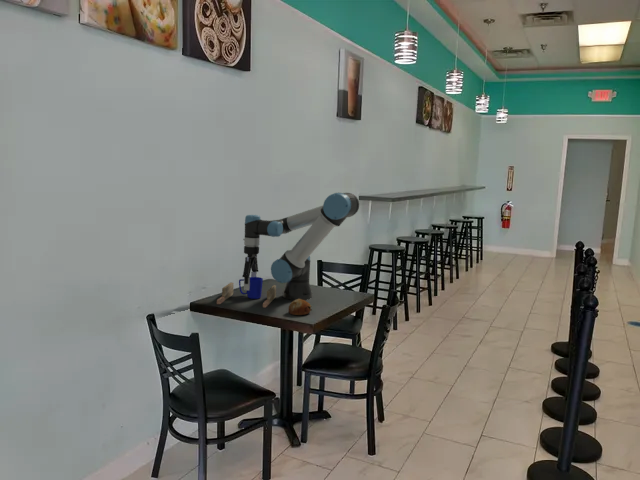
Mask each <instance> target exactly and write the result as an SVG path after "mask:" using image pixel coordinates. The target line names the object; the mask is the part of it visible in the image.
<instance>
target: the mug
mask: <svg viewBox="0 0 640 480" xmlns="http://www.w3.org/2000/svg"><path fill="white" fill-rule="evenodd" d="M249 277H250V289H249V290H246V292H243V290H242V287H241V282H242V281H243V282H244V278H242V279H239V280H238V287H239V292H240V294H241V295H247V298H249V299H251V300H257V299H260V298H261V297H262V291H263V281H264V278H262V277H261V276H260V277H259V276H257V277H251V276H249Z"/></svg>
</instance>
